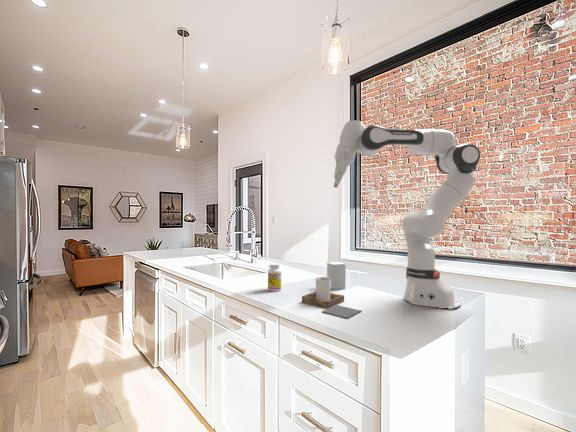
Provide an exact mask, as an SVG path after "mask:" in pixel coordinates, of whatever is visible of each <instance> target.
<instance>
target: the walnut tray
mask: <svg viewBox="0 0 576 432" xmlns="http://www.w3.org/2000/svg"><path fill="white" fill-rule="evenodd" d="M301 302H302V303H305V304H309V305H314V306H317V307H322V308H325V309H329V308H331V307H333V306H336V305H339V304H341V303H343V302H345V295H342V294H339V293H333V292H330V300H329V301H325V300H320V299H316V291H314V292H310V293H308V294H305V295H302V296H301Z"/></svg>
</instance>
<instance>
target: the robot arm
mask: <svg viewBox="0 0 576 432" xmlns="http://www.w3.org/2000/svg"><path fill="white" fill-rule="evenodd" d="M455 139H456V137H455V134H454V133H453V132H452V131H449V130H446V129H438V128H437V129H436V128H432V129H431V128H430V129H429V128H427V129H426V128H425V129H405V128H404V129H403V128H400V129H399V128H387V127H384V126H382V125H378V124H371V125H368V126H367V127H366V126H365V125H364V123H363V122H362V121H360V120H357V119H356V120H355V119H352V120H349V121H346V123H345V124H344V126H343V128H342V130H341V134H340V137H339V143H338V145H337V146H336V150H335V153H334V159H335V168H334V173H333V179H334V184H333V188H335V189H337V188H338V186H339V185H340V183H341V181H342V179H343V177H344V175H345V173H346V172H347V169H348V167H350V165H351V164H353V163H354V162H355V159H356V155H357V153H358V154H360V155H362V156H364V157H371V156H373V155H375V154H376V153H377V152H378V151H379V150H380V149H382V148H383V147H385V146H405V147H407V150H409V152H410V153H411V154H413V155H417V156H429V155H430V156H432V155H434V156H435V157H434V159H435V162H436V163H435V164H436V167H437V170H439V172H440V173H442V174H447V177H446V179H445V181H443V182H442V183H441V185H439V186H438V188H437V189H435V191H434V192H433V193H432V194H431V195H430V196H429V198H428V201H427V203H426V205H425V206H424V208H423V209H422V210H420V211H417V212H410V213H409V214H406V215H405V216H404V217H403V219H402V221H401V225H402V229H403V232H404V236H405V242H406V246H407V266H406V270H405V271H406V272H405V279H406V285H405V290H404V295H403V298H402V299H403V300H405V301H407V302H409V303H410V304H412V305H414V306H415V305H416V306H422V307H423V306H424V307H429V306H430V307H429V308H436V307H438V309H443V308H448V309H447V310H451V309H452V308H456V307H459V306H460V307H461V305H460V304H461V301H459V300H458V299H456V298H455V293H454V290H453V288H452V287H450V285H449V284H447V283H446V282H444V280H443V279H441V278H440V275H441V271H440V270H438V269H436V263H435V262H436V252H435V249H434V247H433V245H432V239H431V238H435V237H438V236H440V235H441V234H442V233H443V231H444V230H445V224H446V221H447V220H448V218H449V217H450V215H451V214H452V212H453V211H454V210H455V209H456V208H457V207H458V206H459V205H461V203H462V202H463V200H465V198H467V196H468V195H469V193H470V192H471V191H472V189H473V187H474V186H475V184H476V179H475V177H474V175H472V173H474V172H475V171H476V169H477V165H478V163H479V161H480V159H481V150H480V149H479V147H478V146H477V145H475V144H473V143H462V144H460V145H457V143H456V140H455ZM460 307H459V308H460ZM452 310H453V309H452Z"/></svg>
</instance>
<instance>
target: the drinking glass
mask: <svg viewBox="0 0 576 432" xmlns="http://www.w3.org/2000/svg"><path fill="white" fill-rule="evenodd" d="M331 290H332V289H331V278H329V277H327V276H318V277H316V278H315V292H316V299H320V300H325V301H329V300H331V299H330V293H332V292H331Z"/></svg>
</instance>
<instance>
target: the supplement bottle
mask: <svg viewBox="0 0 576 432" xmlns="http://www.w3.org/2000/svg"><path fill="white" fill-rule="evenodd" d="M280 266H281V265H280V263H277V262H275V263H270V264H269V269H268V270H267V290H268V291H270V292H279V291H281V290H282V269H280Z"/></svg>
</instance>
